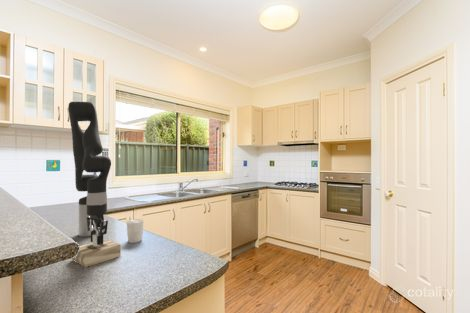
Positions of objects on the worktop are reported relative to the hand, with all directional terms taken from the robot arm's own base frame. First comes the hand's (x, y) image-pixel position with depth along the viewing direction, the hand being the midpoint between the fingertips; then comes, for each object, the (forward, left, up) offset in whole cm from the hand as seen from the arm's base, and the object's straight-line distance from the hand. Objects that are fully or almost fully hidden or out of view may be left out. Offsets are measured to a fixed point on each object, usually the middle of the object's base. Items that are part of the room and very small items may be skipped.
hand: (96, 242), depth 102 cm
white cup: (-7, +22, -7) cm, 24 cm away
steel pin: (0, 0, -6) cm, 6 cm away
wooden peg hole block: (0, 0, -6) cm, 6 cm away
